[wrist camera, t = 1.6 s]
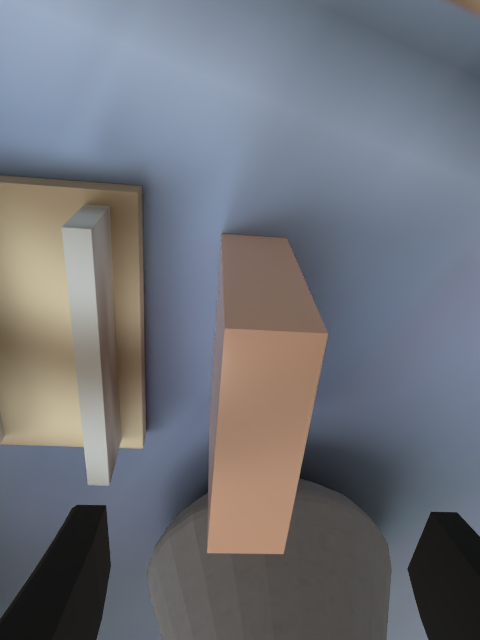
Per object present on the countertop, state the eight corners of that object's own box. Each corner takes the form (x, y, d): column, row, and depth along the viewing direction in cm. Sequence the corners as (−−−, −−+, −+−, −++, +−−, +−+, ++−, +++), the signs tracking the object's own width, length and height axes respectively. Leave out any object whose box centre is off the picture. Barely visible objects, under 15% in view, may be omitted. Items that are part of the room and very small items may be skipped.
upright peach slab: (263, 409, 20) (283, 553, 14) (209, 407, 20) (207, 553, 14) (287, 237, 17) (328, 333, 11) (221, 233, 16) (224, 328, 10)
